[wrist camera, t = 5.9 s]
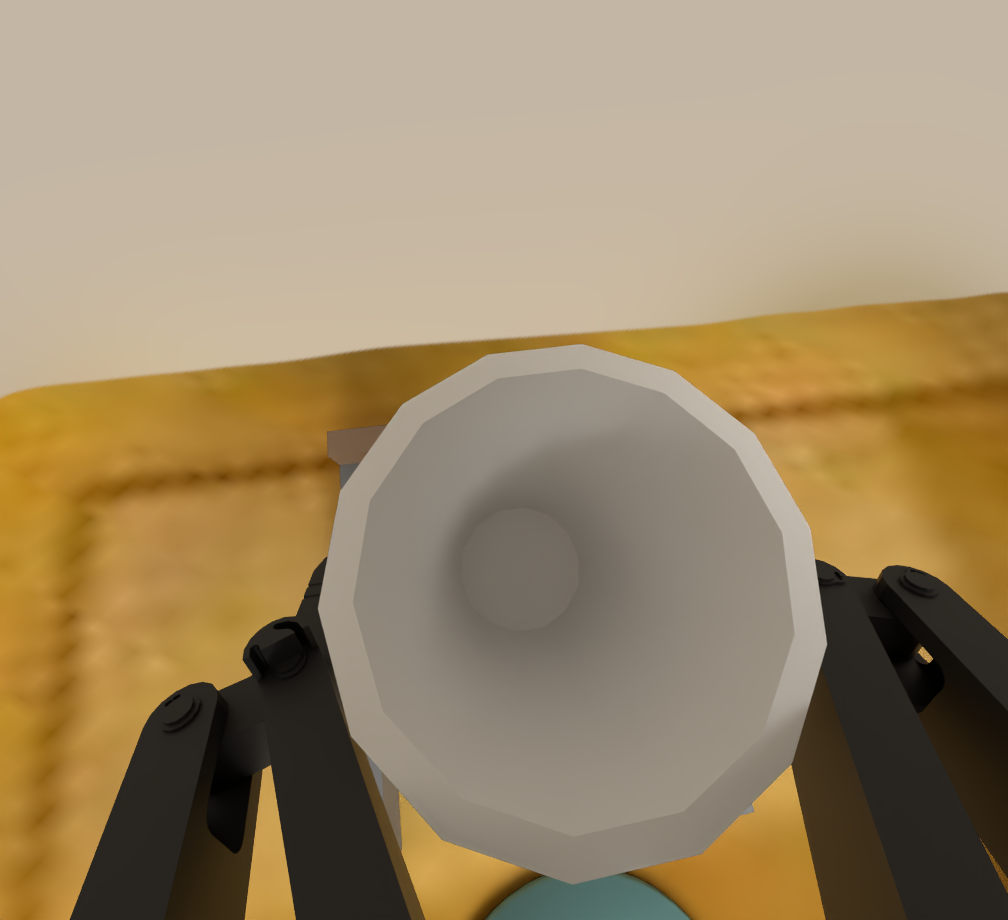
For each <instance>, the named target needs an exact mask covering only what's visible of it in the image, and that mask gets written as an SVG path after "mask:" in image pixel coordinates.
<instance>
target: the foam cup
mask: <svg viewBox="0 0 1008 920" xmlns="http://www.w3.org/2000/svg"><path fill="white" fill-rule="evenodd" d="M318 611H319V615H320V619H321V623H322V627H323V631H324V634H325V638H326V642H327V646H328V650H329V654H330V658H331V662H332V665H333V669H334V673H335V677H336V681H337V685H338V689H339V692H340V696H341V700H342V704H343V708H344V712H345V716H346V720H347V723H348V727H349V731H350V735H351V737H352V738H353V739H354V740H355V741H356V743H357V744H358V745H359V746H360V747H361V748H362V749H363V750H364V752H365V753H366V754H367V755H368V756H369V757H370V758H371V760H372V761H373V762H374V763H375V764H376V765H377V766H378V768H379V769H380V770H381V771H382V772H383V773H384V774H385V775H386V777H387V778H388V779H389V780H390V781H391V782H392V783H393V785H394V786H395V787H396V788H397V789H398V790H399V791H400V793H401V794H402V795H403V796H404V797H405V798H406V799H407V801H408V802H409V803H410V804H411V805H412V806H413V807H414V808H415V810H416V811H417V812H418V813H419V814H420V815H421V816H422V818H423V819H424V820H425V821H426V822H427V823H428V824H429V826H430V827H431V828H432V829H433V830H434V831H435V832H436V833H437V835H438V836H439V837H440V838H441V839H442V840H444V841H447V842H450V843H453V844H455V845H458V846H461V847H464V848H467V849H470V850H473V851H476V852H479V853H482V854H484V855H487V856H490V857H493V858H496V859H499V860H502V861H505V862H508V863H511V864H514V865H516V866H519V867H522V868H525V869H528V870H531V871H534V872H537V873H540V874H543V875H546V876H548V877H551V878H554V879H557V880H560V881H563V882H566V883H569V884H572V885H573V884H578V883H582V882H586V881H590V880H595V879H599V878H603V877H607V876H611V875H616V874H620V873H624V872H628V871H633V870H637V869H641V868H645V867H649V866H654V865H658V864H662V863H666V862H671V861H675V860H679V859H683V858H687V857H692V856H696V855H700V854H702V853H703V852H704V851H705V850H706V849H707V848H708V847H709V846H710V845H711V844H712V843H713V842H714V841H715V840H716V839H717V838H718V837H719V836H720V835H721V834H722V833H723V832H724V831H725V830H726V829H727V828H728V827H729V826H730V825H731V824H732V823H733V822H734V821H735V820H736V819H737V818H738V817H739V816H740V815H741V814H742V813H743V812H744V811H745V810H746V809H747V808H748V807H749V806H750V805H751V804H752V803H753V802H754V801H755V800H756V799H757V798H758V797H759V796H760V795H761V794H762V793H763V792H764V791H765V790H766V789H767V788H768V787H769V786H770V785H771V784H772V783H773V782H774V781H775V780H776V779H777V778H778V777H779V776H780V775H781V774H782V773H783V772H784V771H785V770H786V769H787V768H788V767H789V766H790V765H791V764H792V762H793V758H794V755H795V752H796V748H797V745H798V741H799V738H800V735H801V731H802V728H803V724H804V721H805V718H806V714H807V711H808V707H809V704H810V701H811V697H812V694H813V691H814V687H815V684H816V680H817V677H818V674H819V670H820V667H821V663H822V660H823V657H824V653H825V650H826V646H827V640H826V633H825V626H824V619H823V612H822V605H821V598H820V591H819V585H818V578H817V571H816V564H815V557H814V550H813V543H812V536H811V529H810V527H809V525H808V523H807V522H806V520H805V518H804V517H803V515H802V513H801V511H800V510H799V508H798V506H797V505H796V503H795V501H794V500H793V498H792V496H791V494H790V493H789V491H788V489H787V488H786V486H785V484H784V483H783V481H782V479H781V478H780V476H779V474H778V472H777V471H776V469H775V467H774V466H773V464H772V462H771V461H770V459H769V457H768V455H767V454H766V452H765V450H764V449H763V447H762V445H761V444H760V442H759V440H758V439H757V437H756V435H755V434H754V433H753V432H752V431H750V430H749V429H748V428H747V427H745V426H744V425H743V424H741V423H740V422H739V421H738V420H736V419H735V418H734V417H733V416H731V415H730V414H729V413H727V412H726V411H725V410H724V409H722V408H721V407H720V406H718V405H717V404H716V403H715V402H713V401H712V400H711V399H710V398H708V397H707V396H706V395H704V394H703V393H702V392H701V391H699V390H698V389H697V388H695V387H694V386H693V385H692V384H690V383H689V382H688V381H687V380H685V379H684V378H683V377H681V376H680V375H679V374H678V373H676V372H675V371H672V370H669V369H665V368H662V367H659V366H655V365H652V364H648V363H645V362H642V361H638V360H635V359H631V358H628V357H624V356H621V355H618V354H614V353H611V352H607V351H604V350H600V349H597V348H594V347H590V346H587V345H583V344H578V345H569V346H560V347H551V348H542V349H534V350H525V351H516V352H507V353H498V354H489V355H486V356H484V357H482V358H481V359H479V360H477V361H476V362H474V363H472V364H470V365H469V366H467V367H465V368H464V369H462V370H460V371H458V372H457V373H455V374H453V375H452V376H450V377H448V378H446V379H445V380H443V381H441V382H440V383H438V384H436V385H434V386H433V387H431V388H429V389H427V390H426V391H424V392H422V393H421V394H419V395H417V396H415V397H414V398H412V399H410V400H409V401H407V402H405V403H403V404H402V405H401V406H400V408H399V409H398V411H397V412H396V414H395V415H394V416H393V418H392V419H391V421H390V422H389V423H388V425H387V426H386V428H385V429H384V430H383V432H382V433H381V435H380V436H379V437H378V439H377V440H376V442H375V443H374V444H373V446H372V447H371V449H370V450H369V451H368V453H367V454H366V456H365V457H364V459H363V460H362V461H361V463H360V464H359V466H358V467H357V468H356V470H355V471H354V473H353V474H352V475H351V477H350V478H349V480H348V481H347V482H346V484H345V485H344V487H343V488H342V489H341V491H340V494H339V500H338V505H337V510H336V516H335V521H334V526H333V531H332V537H331V542H330V547H329V552H328V558H327V563H326V568H325V573H324V579H323V584H322V589H321V595H320V600H319V605H318Z"/></svg>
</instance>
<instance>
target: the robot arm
mask: <svg viewBox="0 0 1008 920" xmlns="http://www.w3.org/2000/svg"><path fill="white" fill-rule="evenodd" d="M327 558H328V557H326V558H325V559H324V560H323V561H322V562H321V563H320V564H319V566H318V567H317V568H316V569H315V570H314V572H313V574H312V577H311V579H310V582H309V584H308V585H309V587H308V588H307V589H306V592H305V595H304V599H303V600H302V602H301V605H300V607H299V610H298V612H297V615H296V616H293V617H284V618H281V619H278V620H275V621H273V622H271V623H269V624H268V625H266V626H265V627H263V628H261V629H260V630H259V631H258V632H257V633H256V634H255V635H254V636H253V637H252V638H251V639H250V641H249V642H248V644H247V646H246V647H245V649H244V654H243V661H244V663H245V664H246V666H247V667H248V669H249V670H250V672H251V673H252V674H253V675H252V676H250V677H248V678H246V679H244V680H242V681H239V682H237V683H235V684H233V685H230V686H228V687H226V688H224V689H221V690H219V691H218V690H217V689H216V688H215V687H214V686H213V684H211V683H205V682H200V683H195V684H191V685H188V686H186V687H184V688H182V689H180V690H178V691H176V692H175V693H174V694H172V695H171V696H170V697H168V698H167V699H166V700H164V701H163V702H162V703H161V704H160V705H159V706H158V707H157V708H156V709H155V710H154V712H153V713H152V714H151V715H150V717H149V719H148V720H147V722H146V724H145V726H144V727H143V730H142V732H141V735H140V738H139V740H138V743H137V745H136V748H135V751H134V753H133V756H132V758H131V761H130V764H129V766H128V769H127V772H126V774H125V777H124V779H123V782H122V785H121V787H120V790H119V792H118V795H117V798H116V800H115V803H114V805H113V808H112V811H111V813H110V816H109V819H108V821H107V824H106V826H105V829H104V832H103V834H102V837H101V839H100V842H99V845H98V847H97V850H96V852H95V855H94V858H93V860H92V863H91V866H90V868H89V871H88V873H87V876H86V879H85V881H84V884H83V886H82V889H81V892H80V894H79V897H78V899H77V902H76V905H75V907H74V910H73V913H72V915H71V918H70V920H244V919H245V911H246V903H247V894H248V886H249V878H250V870H251V861H252V853H253V845H254V836H255V828H256V820H257V812H258V803H259V795H260V787H261V778H262V770H263V769H264V768H266V767H268V766H270V765H271V767H272V774H273V780H274V786H275V792H276V798H277V804H278V811H279V817H280V823H281V829H282V835H283V842H284V848H285V854H286V860H287V866H288V873H289V879H290V885H291V891H292V897H293V904H294V910H295V916H296V920H425V917H424V914H423V912H422V909H421V906H420V903H419V901H418V898H417V895H416V892H415V889H414V887H413V884H412V881H411V878H410V875H409V873H408V870H407V867H406V864H405V862H404V859H403V856H402V853H401V850H400V848H399V845H398V842H397V839H396V836H395V834H394V831H393V828H392V825H391V822H390V820H389V817H388V814H387V811H386V809H385V806H384V803H383V800H382V797H381V795H380V792H379V789H378V786H377V783H376V781H375V778H374V775H373V772H372V770H371V767H370V764H369V761H368V758H367V756H366V753H365V752H364V750H363V749H362V748H361V747H360V746H359V745H358V744H357V743H356V741H355V740H354V739H353V738H352V737H351V735H350V731H349V727H348V723H347V720H346V716H345V712H344V708H343V704H342V700H341V696H340V692H339V689H338V685H337V681H336V677H335V673H334V669H333V665H332V662H331V658H330V654H329V650H328V646H327V642H326V638H325V634H324V631H323V627H322V623H321V619H320V615H319V611H318V605H319V600H320V595H321V589H322V584H323V579H324V573H325V568H326V563H327ZM815 564H816V571H817V578H818V585H819V591H820V598H821V605H822V612H823V619H824V626H825V633H826V640H827V646H826V650H825V653H824V657H823V660H822V663H821V667H820V670H819V674H818V677H817V680H816V684H815V687H814V691H813V694H812V697H811V701H810V704H809V707H808V711H807V714H806V718H805V721H804V724H803V728H802V731H801V735H800V738H799V741H798V745H797V748H796V752H795V755H794V758H793V762H792V764H791V765H792V770H793V774H794V779H795V783H796V788H797V792H798V797H799V801H800V806H801V810H802V815H803V819H804V824H805V828H806V833H807V837H808V842H809V846H810V851H811V855H812V860H813V864H814V869H815V873H816V878H817V882H818V887H819V891H820V896H821V900H822V905H823V909H824V914H825V918H826V920H1008V894H1007V892H1006V890H1005V888H1004V886H1003V884H1002V882H1001V880H1000V878H999V876H998V874H997V872H996V870H995V868H994V866H993V864H992V862H991V860H990V858H989V856H988V854H987V852H986V850H985V848H984V846H983V844H982V842H983V843H984V844H985V846H986V847H987V849H988V850H989V852H990V853H991V854H992V856H993V857H994V859H995V860H996V862H997V863H998V864H999V866H1000V867H1001V869H1002V870H1003V872H1004V873H1005V874H1006V876H1007V877H1008V639H1007V638H1006V637H1005V636H1003V635H1002V634H1001V633H1000V632H999V631H998V630H997V629H996V628H995V627H993V626H992V625H991V624H990V623H989V622H988V621H987V620H986V619H985V618H983V617H982V616H981V615H980V614H979V613H978V612H977V611H976V610H974V609H973V608H972V607H971V606H970V605H969V604H968V603H967V602H966V601H964V600H963V599H962V598H961V597H960V596H959V595H958V594H957V593H956V592H954V591H953V590H952V589H951V588H950V587H949V586H948V585H946V584H945V583H943V582H942V581H941V580H939V579H938V578H936V577H934V576H932V575H930V574H928V573H926V572H924V571H921V570H918V569H914V568H911V567H906V566H899V565H895V566H887V567H886V568H885V569H883V570H882V572H881V574H880V575H879V577H878V579H872V578H861V577H851V576H846V575H845V574H844V573H843V572H841V571H840V570H839V569H837V568H836V567H834V566H832V565H830V564H828V563H826V562H824V561H820V560H816V559H815ZM922 646H923V647H924V648H925V650H926V651H927V652H928V653H929V654H930V655H931V656H932V657H933V660H932V661H931V662H930V663H928V662H927V661H926V660H925V659H923V658H922V656H921V655H920V654H919V653H918V652H919V650H920V649H921V648H922ZM979 837H980V838H979ZM980 839H981V840H982V842H981V840H980Z"/></svg>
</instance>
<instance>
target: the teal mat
mask: <svg viewBox="0 0 1008 920" xmlns="http://www.w3.org/2000/svg"><path fill="white" fill-rule="evenodd" d="M485 920H691V919H690V917H689V916H688V915H687V914H686V913H685V912H684V911H683V910H682V909H681V908H680V907H679V906H678V905H677V904H676V903H675V902H674V901H673V900H671V899H670V898H669V897H667V896H666V895H665V894H663V893H662V892H661V891H659V890H658V889H657V888H655V887H654V886H652V885H650V884H648V883H646V882H644V881H642V880H641V879H639V878H637V877H634V876H631V875H629V874H626V873H620V874H616V875H611V876H607V877H603V878H599V879H595V880H590V881H586V882H582V883H578V884H573V885H572V884H569V883H566V882H563V881H560V880H557V879H554V878H551V877H548V876H546V875H543V876H541V877H539V878H537V879H535V880H533V881H531V882H529V883H527V884H525V885H523V886H522V887H521V888H519V889H518V890H516V891H515V892H513V893H512V894H511V895H509V896H508V897H507V898H506V899H504V900H503V901H502V902H501V903H500V904H499V905H498V906H497V907H496V908H495V909H494V910H493V911H491V913H490V914H489V915H488V916H487V917H486V919H485Z"/></svg>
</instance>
